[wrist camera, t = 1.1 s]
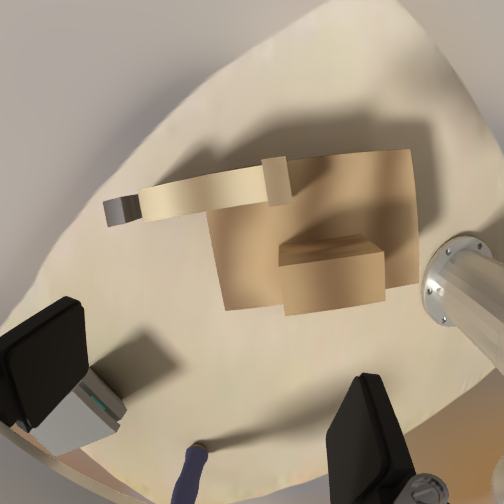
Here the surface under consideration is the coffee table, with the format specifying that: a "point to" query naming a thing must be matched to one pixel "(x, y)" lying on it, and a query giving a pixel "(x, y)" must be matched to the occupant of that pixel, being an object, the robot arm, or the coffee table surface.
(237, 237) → the lid
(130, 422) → the coffee table surface
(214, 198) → the pale wooden bar
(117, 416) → the sharpening stone
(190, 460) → the rubber mallet
